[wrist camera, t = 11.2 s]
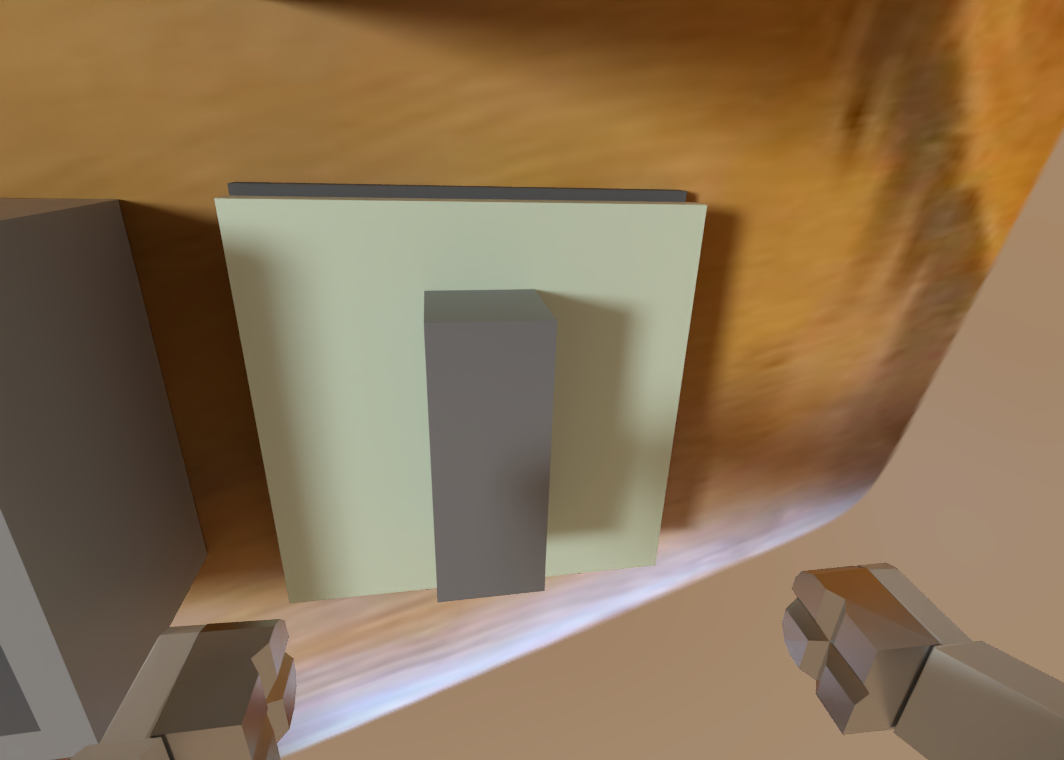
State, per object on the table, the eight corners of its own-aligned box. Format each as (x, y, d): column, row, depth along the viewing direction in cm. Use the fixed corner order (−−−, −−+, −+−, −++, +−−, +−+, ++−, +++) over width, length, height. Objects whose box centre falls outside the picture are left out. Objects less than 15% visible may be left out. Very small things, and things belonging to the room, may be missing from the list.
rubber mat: (679, 189, 17) (687, 191, 17) (636, 527, 22) (642, 536, 22) (234, 181, 15) (227, 183, 15) (298, 558, 20) (295, 569, 20)
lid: (680, 199, 17) (767, 218, 13) (637, 533, 22) (690, 630, 17) (237, 192, 15) (158, 212, 10) (301, 565, 20) (264, 684, 15)
